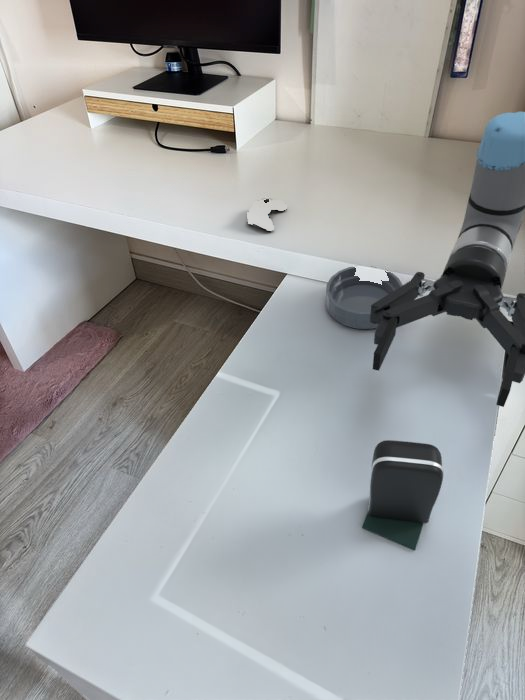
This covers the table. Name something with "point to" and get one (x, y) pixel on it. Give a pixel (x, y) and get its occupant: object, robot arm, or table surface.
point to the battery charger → (405, 480)
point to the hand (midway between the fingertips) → (436, 379)
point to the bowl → (356, 297)
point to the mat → (394, 530)
